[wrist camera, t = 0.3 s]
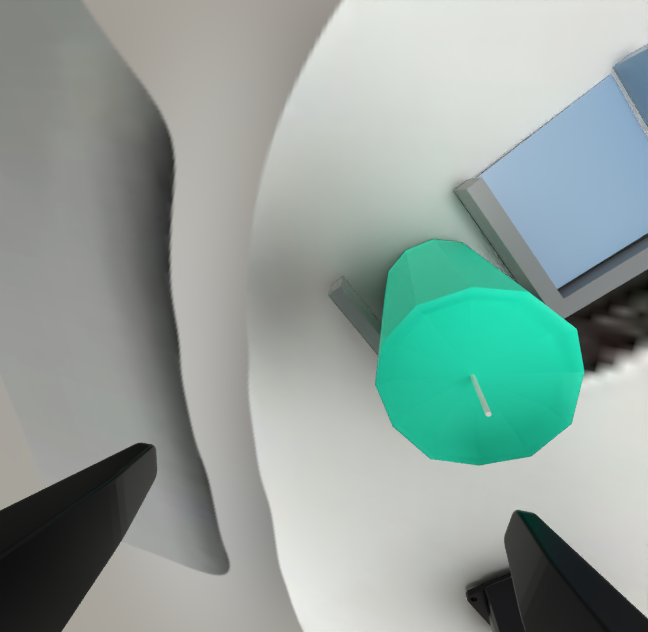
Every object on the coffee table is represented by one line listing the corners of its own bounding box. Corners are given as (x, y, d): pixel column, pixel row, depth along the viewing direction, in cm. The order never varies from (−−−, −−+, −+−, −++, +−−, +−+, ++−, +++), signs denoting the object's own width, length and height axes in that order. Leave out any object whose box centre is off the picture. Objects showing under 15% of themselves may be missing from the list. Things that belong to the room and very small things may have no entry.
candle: (460, 354, 21) (533, 535, 10) (368, 316, 21) (339, 450, 10) (514, 263, 19) (687, 365, 8) (410, 221, 19) (432, 263, 8)
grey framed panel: (714, 213, 17) (768, 216, 15) (420, 392, 22) (426, 414, 20) (628, 54, 16) (673, 29, 14) (332, 284, 21) (328, 295, 19)
